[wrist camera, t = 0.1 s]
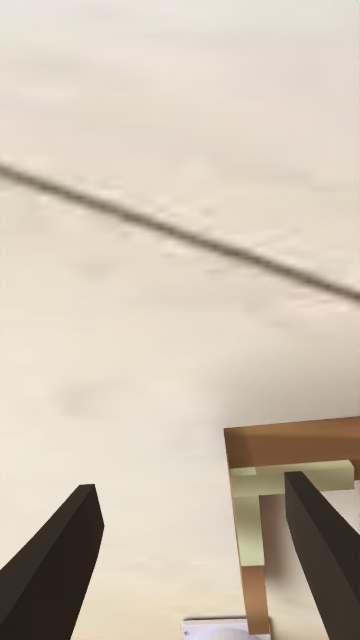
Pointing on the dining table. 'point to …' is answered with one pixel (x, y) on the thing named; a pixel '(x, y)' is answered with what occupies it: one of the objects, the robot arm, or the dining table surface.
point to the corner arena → (281, 485)
